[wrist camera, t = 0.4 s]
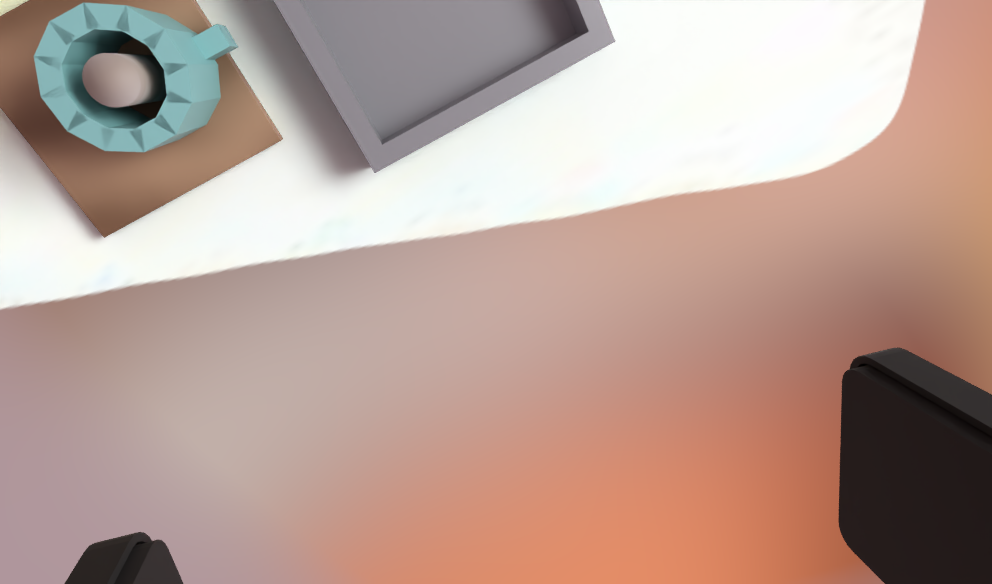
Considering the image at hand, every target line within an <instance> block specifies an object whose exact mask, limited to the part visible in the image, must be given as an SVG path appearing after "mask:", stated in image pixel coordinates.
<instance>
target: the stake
mask: <svg viewBox="0 0 992 584" xmlns="http://www.w3.org/2000/svg"><path fill="white" fill-rule="evenodd" d="M83 2H84V3H98V4H113V5H127V6H131V7H135V8H140V9H144V10H148V11H152V12H156V13H161V14H165V15H168V16H169V17H171V18H172V19H174V20H176V21H177V22H179V23H181V24H182V25H184V26H186V27H187V28H189V29H190V30H192V31H194V32H195V33H197V34H200V33H201V32H203V31H205V30H207V29H209V28H210V27H212V25H211V24H210V22H209V21H208V19H207V17H206V16H205V14H204V13H203V11H202V10H201V8H200V6H199V5H198V3H197V2H196V0H29V1H27V2H25V3H24V4H22V5H20V6H18V7H16V8H15V9H13V10H11V11H9V12H7V13H6V14H4V15H2V16H0V108H1V109H2V110H3V111H4V113H5V114H6V115H7V116H8V118H9V119H10V120H11V121H12V123H13V124H14V125H15V126H16V128H17V129H18V130H19V131H20V133H21V134H22V135H23V137H24V138H25V139H26V140H27V142H28V143H29V144H30V145H31V147H32V148H33V149H34V150H35V152H36V153H37V154H38V155H39V157H40V158H41V159H42V160H43V162H44V163H45V164H46V165H47V167H48V168H49V169H50V170H51V172H52V173H53V174H54V175H55V177H56V178H57V179H58V180H59V182H60V183H61V184H62V185H63V187H64V188H65V189H66V190H67V192H68V193H69V194H70V195H71V197H72V198H73V199H74V201H75V202H76V203H77V204H78V206H79V207H80V208H81V209H82V211H83V212H84V213H85V214H86V216H87V217H88V218H89V219H90V221H91V222H92V223H93V224H94V226H95V227H96V228H97V229H98V231H99V232H100V233H101V234H102V236H103V237H104V238H105V237H106V236H108V235H110V234H112V233H114V232H115V231H117V230H119V229H121V228H123V227H125V226H126V225H128V224H130V223H132V222H134V221H135V220H137V219H139V218H141V217H143V216H145V215H146V214H148V213H150V212H152V211H154V210H155V209H157V208H159V207H161V206H163V205H165V204H166V203H168V202H170V201H172V200H174V199H176V198H177V197H179V196H181V195H183V194H185V193H186V192H188V191H190V190H192V189H194V188H196V187H197V186H199V185H201V184H203V183H205V182H206V181H208V180H210V179H212V178H214V177H216V176H217V175H219V174H221V173H223V172H225V171H227V170H228V169H230V168H232V167H234V166H236V165H237V164H239V163H241V162H243V161H245V160H247V159H248V158H250V157H252V156H254V155H256V154H257V153H259V152H261V151H263V150H265V149H267V148H268V147H270V146H272V145H274V144H276V143H277V142H279V141H281V140H282V139H283V138H282V136H281V135H280V133H279V131H278V130H277V128H276V127H275V125H274V124H273V122H272V120H271V119H270V117H269V116H268V114H267V112H266V111H265V109H264V108H263V106H262V105H261V103H260V101H259V100H258V98H257V97H256V95H255V93H254V92H253V90H252V89H251V87H250V86H249V84H248V82H247V81H246V79H245V78H244V76H243V74H242V73H241V71H240V70H239V68H238V67H237V65H236V63H235V62H234V60H233V59H232V57H231V55H230V54H229V52H228V53H226V54H225V55H223V56H221V57H219V58H217V59H216V60H215V61H216V62H217V64H218V71H219V83H220V95H221V98H220V100H219V102H218V104H217V106H216V108H215V110H214V111H213V113H212V115H211V117H210V119H209V121H208V123H207V125H205V126H203V127H201V128H199V129H198V130H196V131H194V132H192V133H190V134H188V135H187V136H185V137H183V138H181V139H179V140H177V141H174V142H171V143H168V144H166V145H163V146H160V147H158V148H155V149H152V150H149V151H147V152H121V151H104V150H102V149H100V148H98V147H96V146H94V145H93V144H91V143H89V142H87V141H85V140H83V139H81V138H79V137H77V136H75V135H73V134H72V133H70V132H68V131H67V130H66V129H65V128H64V126H63V125H62V124H61V123H60V121H59V120H58V119H57V117H56V116H55V115H54V113H53V112H52V111H51V109H50V108H49V107H48V106H47V104H46V103H45V102H44V100H43V99H42V98H41V95H40V90H39V84H38V78H37V72H36V67H35V61H34V55H35V52H36V50H37V48H38V46H39V43H40V41H41V39H42V37H43V34H44V32H45V30H46V28H47V25H48V23H49V21H51V20H53V19H55V18H56V17H58V16H60V15H62V14H64V13H65V12H67V11H69V10H71V9H73V8H74V7H76V6H78V5H80V4H82V3H83ZM82 79H83V83H84V86H85V88H86V90H87V92H88V93H89V94H90V96H91V97H92V98H93V99H95V100H96V101H97V102H99V103H100V104H103V105H105V106H108V107H124V106H129V107H130V108H132V109H134V110H136V111H138V112H139V113H141V114H143V115H145V116H147V117H148V118H152V119H154V118H156V116H157V114H158V112H159V110H160V108H161V106H162V104H163V102H164V100H165V98H166V96H167V93H166V84H165V75H164V69H163V68H162V66H161V65H160V63H159V62H158V60H157V59H156V57H155V56H154V54H153V53H152V51H151V50H150V48H149V47H148V46H147V45H145V44H144V43H142V42H140V41H139V40H137V39H135V38H134V39H132V40H130V41H129V42H127V43H125V44H123V45H121V47H120V49H119V51H118V53H100V54H97V55H94V56H93V57H91V58H90V59H89V60H88V61H87V62H86V64H85V65H84V68H83V72H82Z"/></svg>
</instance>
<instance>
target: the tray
mask: <svg viewBox="0 0 992 584" xmlns="http://www.w3.org/2000/svg"><path fill="white" fill-rule="evenodd" d="M273 1H274V2H275V4H276V6H277V7H278V9H279V11H280V13H281V14H282V16H283V18H284V19H285V21H286V23H287V24H288V26H289V28H290V30H291V31H292V33H293V35H294V36H295V38H296V40H297V42H298V43H299V45H300V47H301V48H302V50H303V52H304V53H305V55H306V57H307V59H308V60H309V62H310V64H311V65H312V67H313V69H314V71H315V72H316V74H317V76H318V77H319V79H320V81H321V82H322V84H323V86H324V88H325V89H326V91H327V93H328V94H329V96H330V98H331V100H332V101H333V103H334V105H335V106H336V108H337V110H338V111H339V113H340V115H341V117H342V118H343V120H344V122H345V123H346V125H347V127H348V129H349V130H350V132H351V134H352V135H353V137H354V139H355V140H356V142H357V144H358V146H359V147H360V149H361V151H362V152H363V154H364V156H365V158H366V159H367V161H368V163H369V164H370V166H371V168H372V169H373V171H374V173H376V172H378V171H380V170H381V169H383V168H385V167H387V166H389V165H391V164H392V163H394V162H396V161H398V160H400V159H402V158H403V157H405V156H407V155H409V154H411V153H412V152H414V151H416V150H418V149H420V148H422V147H423V146H425V145H427V144H429V143H431V142H433V141H434V140H436V139H438V138H440V137H442V136H444V135H445V134H447V133H449V132H451V131H453V130H454V129H456V128H458V127H460V126H462V125H464V124H465V123H467V122H469V121H471V120H473V119H475V118H476V117H478V116H480V115H482V114H484V113H486V112H487V111H489V110H491V109H493V108H495V107H496V106H498V105H500V104H502V103H504V102H506V101H507V100H509V99H511V98H513V97H515V96H517V95H518V94H520V93H522V92H524V91H526V90H528V89H529V88H531V87H533V86H535V85H537V84H538V83H540V82H542V81H544V80H546V79H548V78H549V77H551V76H553V75H555V74H557V73H559V72H560V71H562V70H564V69H566V68H568V67H570V66H571V65H573V64H575V63H577V62H579V61H580V60H582V59H584V58H586V57H588V56H590V55H591V54H593V53H595V52H597V51H599V50H601V49H602V48H604V47H606V46H608V45H610V44H612V43H613V42H615V40H614V37H613V35H612V32H611V29H610V27H609V24H608V22H607V19H606V17H605V14H604V12H603V9H602V7H601V4H600V2H599V0H273Z"/></svg>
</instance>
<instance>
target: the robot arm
mask: <svg viewBox="0 0 992 584" xmlns="http://www.w3.org/2000/svg"><path fill="white" fill-rule="evenodd" d="M841 409H842V410H841V447H840V487H839V527H840V531H841V534H842V536H843V538H844V540H845V542H846V543H847V545H848V546H849V547H850V548H851V550H852V551H853V552H854V553H855V554H856V555H857V556H858V557H859V558H860V559H861V560H862V561H863V562H864V563H865V564H866V565H867V566H868V567H869V568H870V569H871V570H872V571H873V572H874V573H875V574H876V575H877V576H878V577H879V578H880V579H881V580H882V581H883V582H884V583H885V584H992V395H991V394H989V393H988V392H986V391H984V390H982V389H980V388H978V387H976V386H974V385H972V384H970V383H968V382H966V381H965V380H963V379H961V378H959V377H957V376H955V375H953V374H951V373H949V372H947V371H945V370H943V369H941V368H940V367H938V366H936V365H934V364H932V363H930V362H928V361H926V360H924V359H922V358H920V357H919V356H917V355H915V354H913V353H911V352H909V351H907V350H905V349H902V348H892V349H887V350H883V351H879V352H875V353H871V354H867V355H863V356H859V357H857V358H855V359H854V360H853V362H852V364H851V366H850V370H847V371H846V372H845V373H844V375H843V379H842V408H841ZM65 584H183V582H182V580H181V577H180V575H179V572H178V570H177V568H176V566H175V563H174V561H173V559H172V556H171V554H170V552H169V549H168V548H167V546H166V544H165V543H164V542H163V541H162V540H155V541H152V540H151V539H150V537H149V536H148V535H147V534H145V533H142V532H138V533H134V534H130V535H125V536H121V537H118V538H113V539H109V540H105V541H101V542H97V543H94V544H92V545H90V546H89V547H88V548H87V549H86V551H85V552H84V553H83V555H82V556H81V558H80V560H79V561H78V563H77V564H76V566H75V568H74V569H73V571H72V573H71V574H70V576H69V578H68V579H67V581H66V582H65Z"/></svg>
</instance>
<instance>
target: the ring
mask: <svg viewBox="0 0 992 584" xmlns="http://www.w3.org/2000/svg"><path fill="white" fill-rule="evenodd" d="M134 38H135V39H137V40H139V41H140V42H142V43H144V44H145V45H147V46H148V47H149V48H150V50H151V51H152V53H153V54H154V56H155V57H156V59H157V60H158V62H159V63H160V65H161V66H162V68H163V69H164V75H165V84H166V93H167V96H166V98H165V100H164V102H163V104H162V106H161V108H160V110H159V112H158V114H157V116H156V118H154V119H152V118H148V117H147V116H145V115H143V114H141V113H139V112H138V111H136V110H134V109H132V108H130V107H129V106H124V107H108V106H105V105H103V104H100V103H99V102H97V101H96V100H95V99H93V98H92V97H91V96H90V94H89V93H88V92H87V90H86V88H85V86H84V83H83V79H82V72H83V68H84V65H85V64H86V62H87V61H88V60H89V59H90V58H91V57H93V56H94V55H97V54H100V53H118V51H119V49H120V47H121V45H123V44H125V43H127V42H129V41H130V40H132V39H134ZM237 47H238V46H237V44H236V43H235V41H234V39H233V38H232V36H231V35H230V33H229V31H228V30H227V28H226V27H225V26H222V25H218V24H216V25H214V26H212V27H210V28H209V29H207V30H205V31H203V32H201V33H200V34H197V33H195V32H194V31H192V30H190V29H189V28H187V27H186V26H184V25H182V24H181V23H179V22H177V21H176V20H174V19H172V18H171V17H169V16H168V15H165V14H161V13H156V12H152V11H148V10H144V9H140V8H135V7H131V6H127V5H113V4H98V3H84V2H83V3H82V4H80V5H78V6H76V7H74V8H73V9H71V10H69V11H67V12H65V13H64V14H62V15H60V16H58V17H56V18H55V19H53V20H51V21H49V23H48V25H47V28H46V30H45V32H44V34H43V37H42V39H41V41H40V43H39V46H38V48H37V50H36V52H35V55H34V61H35V67H36V72H37V78H38V84H39V90H40V95H41V98H42V99H43V100H44V102H45V103H46V104H47V106H48V107H49V108H50V109H51V111H52V112H53V113H54V115H55V116H56V117H57V119H58V120H59V121H60V123H61V124H62V125H63V126H64V128H65V129H66V130H67V131H68V132H70V133H72V134H73V135H75V136H77V137H79V138H81V139H83V140H85V141H87V142H89V143H91V144H93V145H94V146H96V147H98V148H100V149H102V150H104V151H121V152H147V151H149V150H152V149H155V148H158V147H160V146H163V145H166V144H168V143H171V142H174V141H177V140H179V139H181V138H183V137H185V136H187V135H188V134H190V133H192V132H194V131H196V130H198V129H199V128H201V127H203V126H205V125H207V123H208V121H209V119H210V117H211V115H212V113H213V111H214V110H215V108H216V106H217V104H218V102H219V100H220V98H221V95H220V83H219V71H218V64H217V62H216V61H215V60H216V59H217V58H219V57H221V56H223V55H225V54H226V53H228V52H230V51H232V50H234V49H235V48H237Z"/></svg>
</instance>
